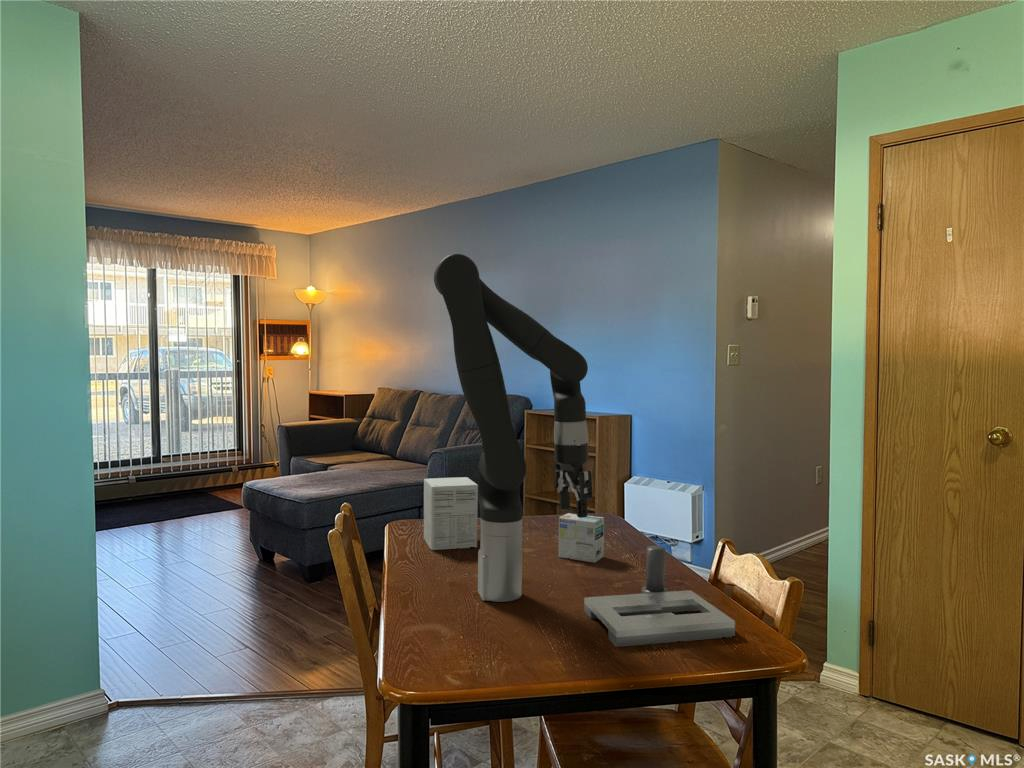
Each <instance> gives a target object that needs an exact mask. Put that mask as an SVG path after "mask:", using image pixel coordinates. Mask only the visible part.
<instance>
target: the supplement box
mask: <svg viewBox="0 0 1024 768" xmlns="http://www.w3.org/2000/svg"><path fill="white" fill-rule="evenodd" d="M478 504H479V484H477V483H476V482H475V481H473V480H472V479H470V478H469V477H467V476H464V477H462V476H461V477H460V476H459V477H436V478H435V477H433V478H423V539H424V541H425V542H426V544H427V545H428V548H430V551H438V550H439V551H441V550H454V549H456V550H458V549H470V547H475V548H478ZM457 548H458V549H457Z"/></svg>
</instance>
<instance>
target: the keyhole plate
mask: <svg viewBox="0 0 1024 768" xmlns="http://www.w3.org/2000/svg"><path fill="white" fill-rule="evenodd" d="M583 602H584V604H583V605H584V607H583V611H584V613H585V614H586V615H587V617H588V618H589V619H593V620H594V619H595V620H596V619H598V620H599V621H601V623H602V624H603V625H604V626H605V627H606V628H607V630H608V634H607V635H608V637H607V638H608V640H609V641H610V642H611V643H612V644H613V645H614V646H615V647H616V648H619V647H631V646H632V647H633V646H642V645H643V646H644V645H654V644H655V645H656V644H666V643H677V642H678V641H680V642H691V641H700V640H712V639H714V640H715V639H723V638H722V637H726V638H733V637H732V636H736V621H735V620H734V619H733V618H732V617H730V616H728V615H727V614H726V613H724V612H723V611H721V610H720V609H719V608H717V607H716V606H715V605H713V604H712V603H710V602H708V601H707V600H706V599H704V598H703V597H701V596H700V595H699V594H697V593H696V592H694V591H693V590H690V589H689V590H688V589H686V590H674V591H669V592H657V593H643V594H641V593H630V594H615V595H602V596H599V595H598V596H588V597H585V596H584V601H583ZM698 610H699V611H700V612H699V613H698V612H697V611H698ZM685 611H687V612H697V613H686V612H685ZM672 612H674V613H672ZM684 612H685V613H684ZM659 613H661V614H659ZM675 613H682V614H675ZM683 613H684V614H683ZM678 643H679V642H678Z"/></svg>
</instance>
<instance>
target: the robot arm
mask: <svg viewBox="0 0 1024 768" xmlns="http://www.w3.org/2000/svg"><path fill="white" fill-rule="evenodd" d="M433 283H434V286H435V289H436V290H437V292H438V293H439V294H440V295H442V298H443V301H444V303H445V306H446V310H447V312H448V315H449V318H450V319H449V320H450V322H451V328H452V329H451V330H452V338H453V340H452V341H453V342H452V343H453V351H454V360H455V364H456V370H457V374H458V379H459V383H460V386H461V387H460V388H461V391H462V393H463V396H464V399H465V401H466V403H467V406H468V408H469V411H470V413H471V414H472V417H473V419H474V422H475V424H476V425H477V428H478V431H479V435H480V439H481V444H482V450H483V452H481V455H480V458H479V461H478V478H477V479H478V504H479V508H480V538H479V539H480V543H479V545H480V546H479V547H480V548H479V549H478V552H477V593H478V595H479V596H480V599H481V600H482V601H483V602H484V601H490V602H495V603H496V602H498V603H504V602H505V603H507V602H512V601H516V600H519V599H520V598H521V597H522V583H523V582H522V580H523V579H522V578H523V577H522V576H523V574H522V573H523V569H522V568H523V505H522V502H521V498H520V485H521V484H522V483H523V481H524V480H525V478H526V473H527V463H526V460H525V457H524V454H523V451H522V449H521V446H520V443H519V440H518V438H517V434H516V432H515V428H514V425H513V422H512V416H511V411H510V405H509V400H508V395H507V390H506V389H507V388H506V385H505V379H504V375H503V371H502V367H501V363H500V359H499V355H498V353H497V352H498V351H497V348H496V344H495V342H494V339H493V336H492V332H491V329H490V327H489V325H490V326H491V327H493V328H494V329H495V330H496V331H497V332H498V333H500V334H501V335H502V336H503V337H505V338H506V339H507V340H508V341H509V342H511V343H512V344H513V345H514V346H516V347H517V348H518V349H519V350H520V351H522V352H523V353H524V354H526V355H527V356H528V357H529V358H532V359H533V360H535V361H538V362H539V363H541V364H542V365H543V366H545V367H546V368H547V369H549V376H550V377H549V379H550V384H551V389H552V396H553V401H554V402H553V416H554V418H553V419H554V424H553V447H554V451H553V452H554V464H553V478H554V479H553V482H554V483H553V484H554V485H553V486H554V489H557V492H558V493H559V508H560V509H561V510H569V509H570V508H571V502H570V501H571V498H570V490H571V492H573V493H574V495H575V498H576V514H577V517H579V518H582V517H586V516H588V500H589V499H590V500H591V499H592V498H593V483H592V481H593V480H592V472H591V470H584V464H586V463H588V461H589V436H588V435H589V433H588V425H587V410H586V409H587V407H586V399H585V397H584V395H583V394H582V389H581V381H583V380H584V379H585V377H586V376H587V375H588V371H589V370H588V369H589V367H588V362H587V360H586V358H585V357H584V356H583V355H582V354H581V353H580V352H579V351H578V350H576V349H575V348H573V347H572V346H570V345H569V344H568V343H566V342H564V341H563V340H561V339H560V338H558V337H556V336H555V335H554V334H553V333H551V332H550V331H549V330H548V329H547V328H545V327H544V326H543V325H542V324H541V323H539V322H538V321H537V320H536V319H535V318H533V317H531V315H529V314H527V313H526V312H525V311H523V310H521V308H518V307H517V306H515V305H513V304H512V303H510V301H509V302H508V301H507V300H506V299H504V298H503V297H501V296H500V295H498V294H497V293H496V292H495V291H493V290H492V289H491V288H490V287H489V286H488V285H487V284H486V283H485V282H484V281H483V280H482V279H481V277H480V271H479V268H478V266H477V265H476V263H475V262H474V261H473V260H472V259H471V258H470V257H468V256H467V255H465V254H463V253H462V254H461V253H451V254H449V255H446V256H445V257H444V258H442V259H441V260H440V262H439V263H438V264H437V266H436V268H435V270H434V274H433Z"/></svg>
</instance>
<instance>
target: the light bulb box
mask: <svg viewBox="0 0 1024 768" xmlns="http://www.w3.org/2000/svg"><path fill="white" fill-rule="evenodd" d="M557 538H558V543H557V544H558V545H557V547H558V549H557V550H558V552H557V553H558V555H557V557H558V558H562V559H568V558H569V560H575V561H581V562H589V563H594V564H595V563H596V562H598V561H600V560H601V559H602V558H604V557H605V517H603V516H595V515H587V516H586V517H582V518H579V517H577V513H570V512H568V513H565V514H563V515H561V516H559V517H558V537H557Z"/></svg>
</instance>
